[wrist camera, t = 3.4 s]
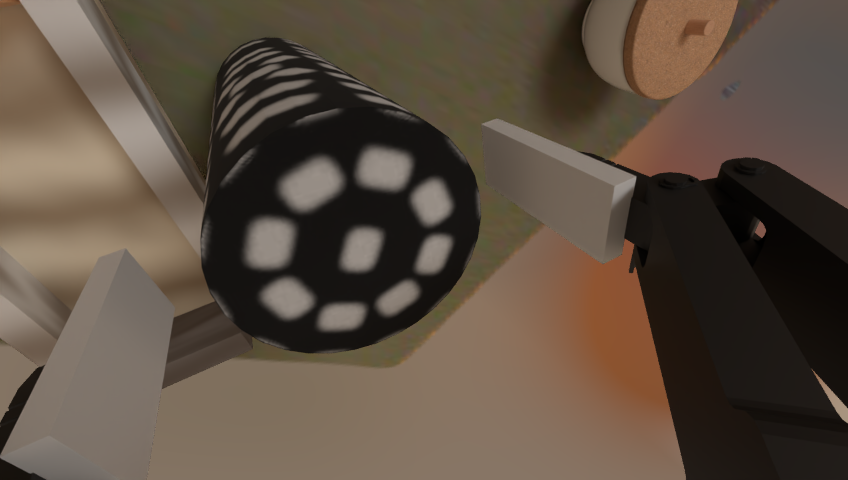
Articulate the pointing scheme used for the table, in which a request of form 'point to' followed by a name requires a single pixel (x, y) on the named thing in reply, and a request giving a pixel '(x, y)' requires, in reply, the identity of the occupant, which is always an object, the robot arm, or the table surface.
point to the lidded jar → (654, 42)
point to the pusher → (9, 3)
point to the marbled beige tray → (94, 185)
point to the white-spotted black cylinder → (327, 204)
